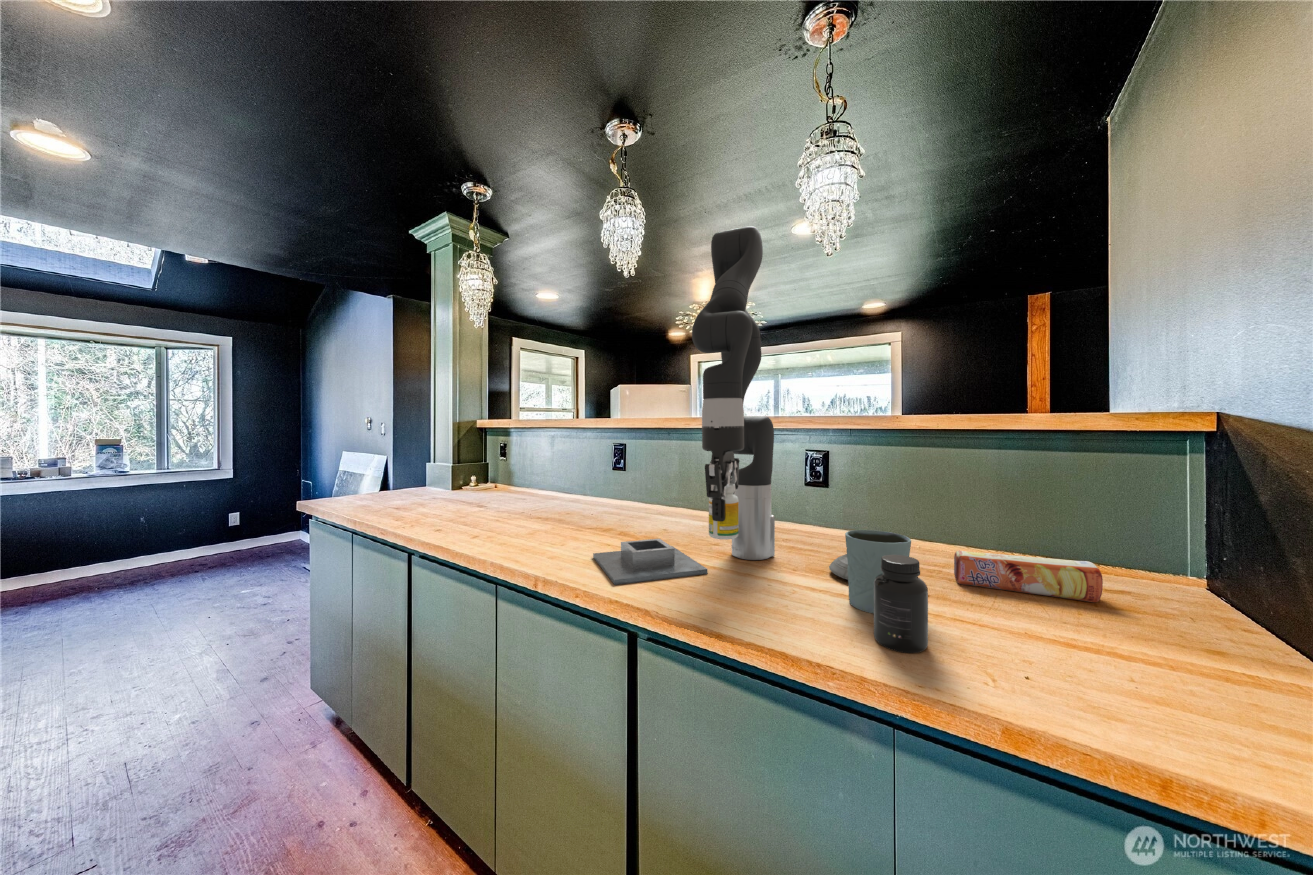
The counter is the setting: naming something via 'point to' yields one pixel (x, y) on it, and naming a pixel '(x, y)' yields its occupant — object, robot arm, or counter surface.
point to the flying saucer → (840, 566)
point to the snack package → (1030, 575)
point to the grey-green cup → (869, 562)
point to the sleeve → (647, 562)
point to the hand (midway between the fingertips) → (723, 516)
